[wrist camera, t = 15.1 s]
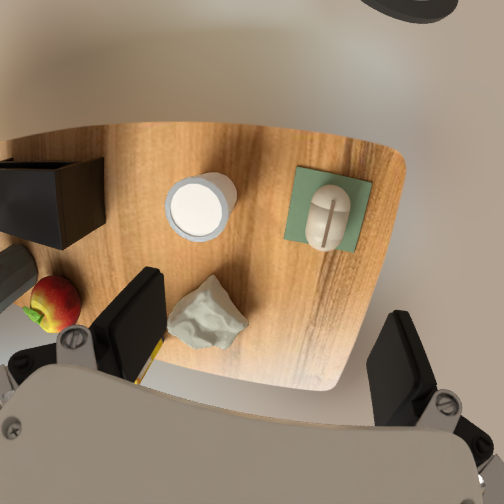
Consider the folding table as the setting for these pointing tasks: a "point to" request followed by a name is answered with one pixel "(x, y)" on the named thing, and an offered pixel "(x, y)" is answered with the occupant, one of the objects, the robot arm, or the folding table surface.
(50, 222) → the long dark rectangular box
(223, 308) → the decorative stone
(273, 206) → the folding table surface
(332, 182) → the mat
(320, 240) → the cream rounded oblong block
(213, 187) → the white cup
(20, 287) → the bottle
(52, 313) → the fruit
